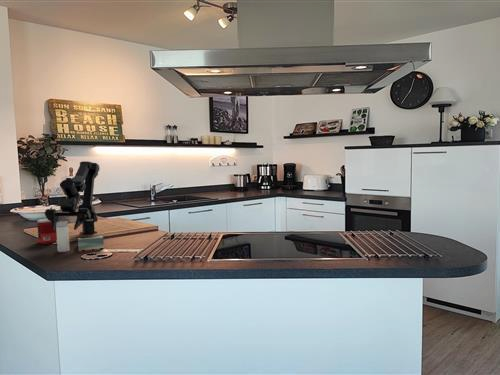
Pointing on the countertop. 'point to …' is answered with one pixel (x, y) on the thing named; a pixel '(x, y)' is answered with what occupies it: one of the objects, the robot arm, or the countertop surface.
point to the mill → (62, 236)
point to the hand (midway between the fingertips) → (63, 229)
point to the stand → (90, 243)
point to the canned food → (46, 232)
